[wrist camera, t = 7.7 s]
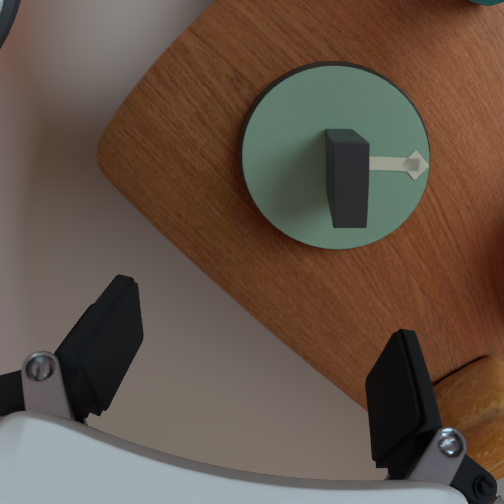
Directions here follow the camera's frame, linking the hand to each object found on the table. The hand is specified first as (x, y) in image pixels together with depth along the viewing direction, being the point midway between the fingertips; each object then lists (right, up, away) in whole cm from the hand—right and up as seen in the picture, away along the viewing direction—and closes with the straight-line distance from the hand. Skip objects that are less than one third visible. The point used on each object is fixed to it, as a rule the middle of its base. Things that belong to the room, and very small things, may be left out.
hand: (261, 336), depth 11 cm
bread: (+40, -24, +32) cm, 56 cm away
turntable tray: (+7, +11, +16) cm, 20 cm away
